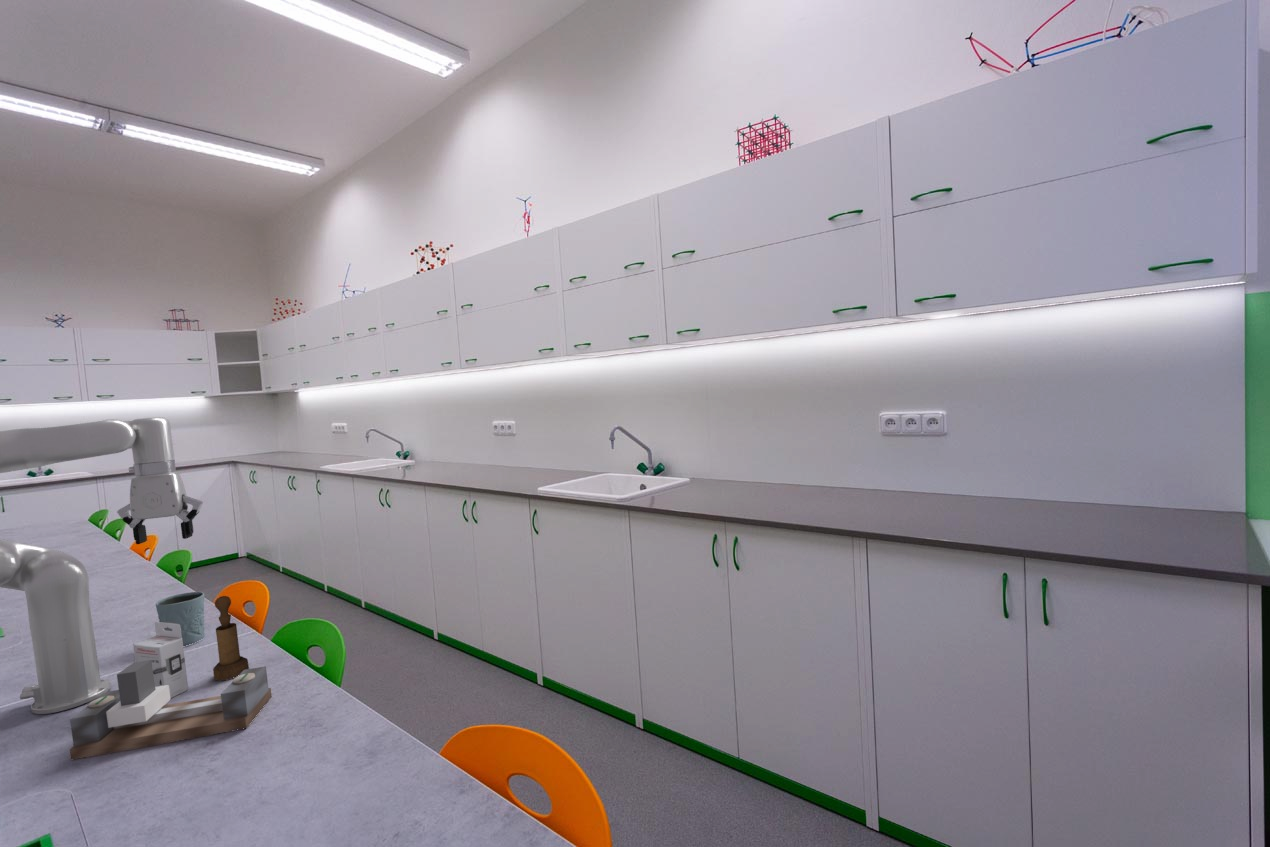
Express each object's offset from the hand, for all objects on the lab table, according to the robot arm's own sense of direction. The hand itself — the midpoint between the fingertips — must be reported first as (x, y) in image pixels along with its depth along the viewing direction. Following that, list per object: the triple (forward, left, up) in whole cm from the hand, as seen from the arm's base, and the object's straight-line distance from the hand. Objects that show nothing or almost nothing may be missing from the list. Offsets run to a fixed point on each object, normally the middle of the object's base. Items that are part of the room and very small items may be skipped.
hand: (164, 540), depth 141 cm
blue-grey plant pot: (-6, +15, -31) cm, 35 cm away
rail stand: (+16, -34, -30) cm, 48 cm away
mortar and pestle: (+16, -12, -31) cm, 36 cm away
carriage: (+10, -34, -27) cm, 44 cm away
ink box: (+5, -17, -31) cm, 35 cm away
